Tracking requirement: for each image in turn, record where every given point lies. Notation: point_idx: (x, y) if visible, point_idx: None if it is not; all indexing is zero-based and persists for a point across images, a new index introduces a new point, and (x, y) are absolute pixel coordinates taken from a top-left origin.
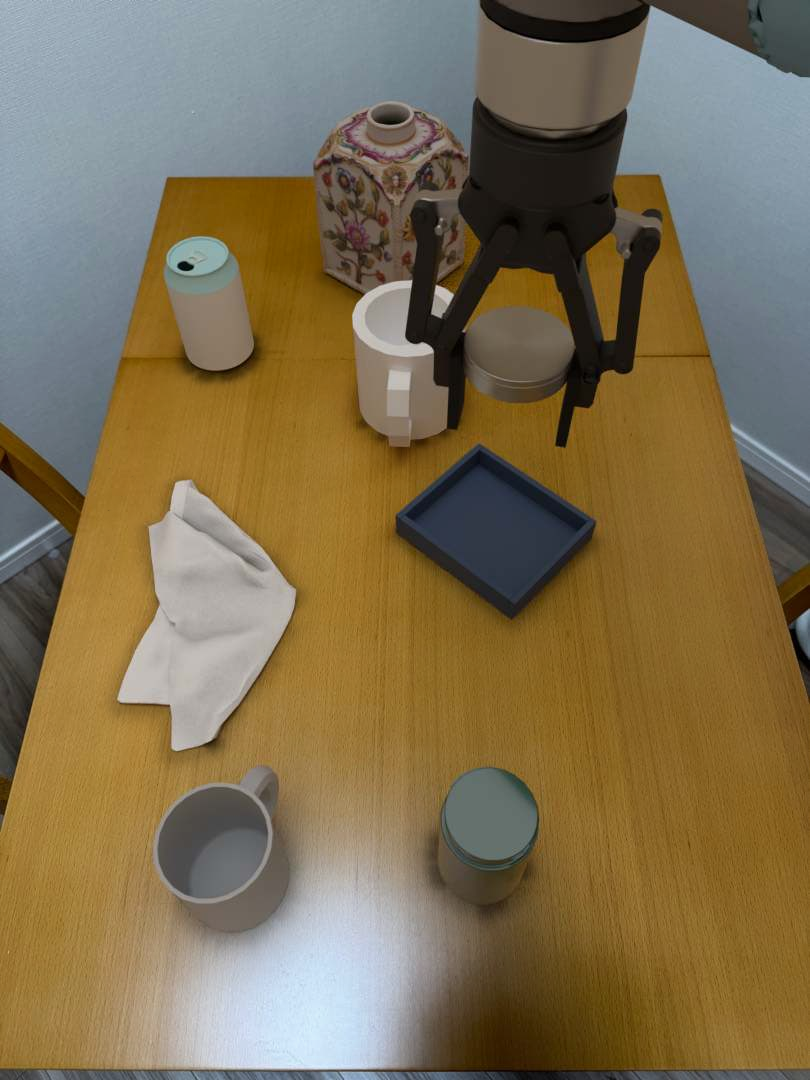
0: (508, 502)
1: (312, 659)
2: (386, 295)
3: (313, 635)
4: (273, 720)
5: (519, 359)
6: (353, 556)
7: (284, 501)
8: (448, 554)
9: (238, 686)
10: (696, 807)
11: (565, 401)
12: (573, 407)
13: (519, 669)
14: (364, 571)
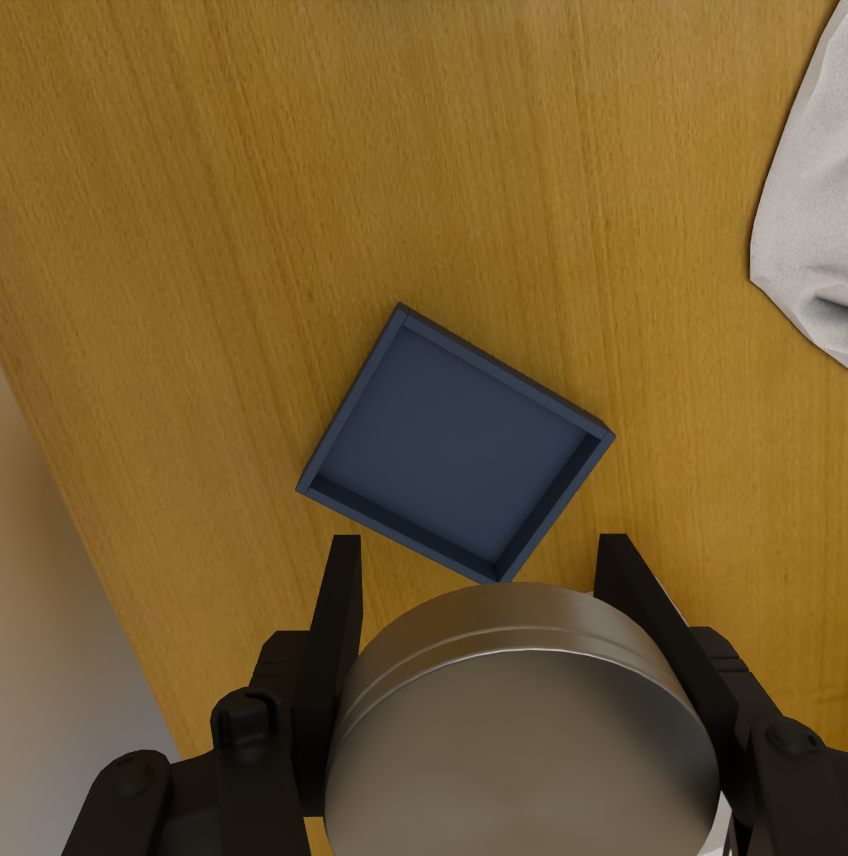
0: (437, 506)
1: (705, 158)
2: (723, 836)
3: (709, 203)
4: (755, 24)
5: (512, 744)
6: (663, 364)
7: (786, 441)
8: (519, 380)
9: (830, 63)
10: (59, 23)
11: (338, 633)
12: (314, 621)
13: (373, 214)
14: (642, 340)
